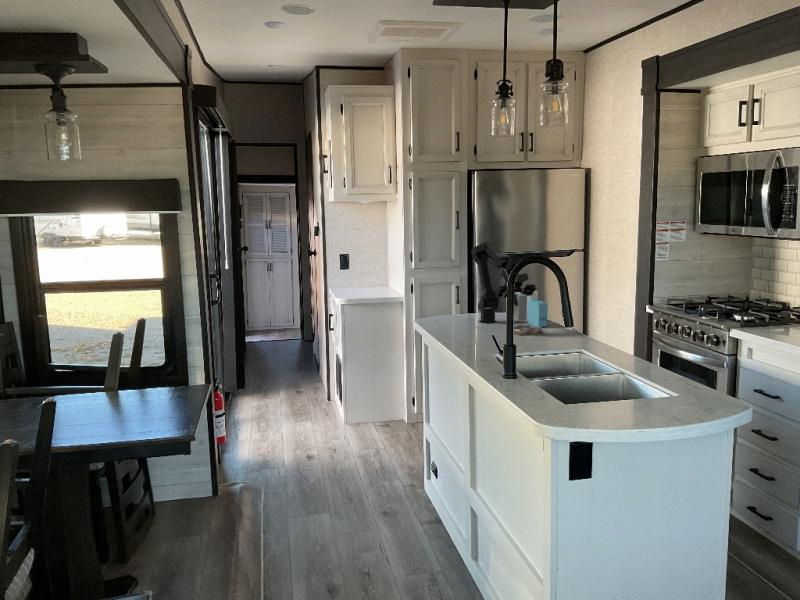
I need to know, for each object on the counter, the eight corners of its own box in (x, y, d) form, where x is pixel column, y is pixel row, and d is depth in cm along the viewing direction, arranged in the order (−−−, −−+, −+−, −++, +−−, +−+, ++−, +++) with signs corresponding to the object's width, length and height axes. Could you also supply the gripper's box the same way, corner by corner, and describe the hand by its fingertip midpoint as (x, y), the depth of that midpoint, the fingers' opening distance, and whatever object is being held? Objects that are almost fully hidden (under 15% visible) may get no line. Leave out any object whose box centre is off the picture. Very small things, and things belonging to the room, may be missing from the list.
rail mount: (519, 335, 300) (519, 329, 299) (506, 331, 308) (506, 325, 308) (542, 333, 306) (542, 327, 305) (529, 329, 314) (529, 323, 314)
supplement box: (530, 322, 332) (531, 292, 330) (514, 321, 337) (514, 291, 335) (537, 320, 340) (538, 290, 337) (520, 318, 344) (521, 289, 342)
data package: (547, 327, 320) (547, 302, 318) (538, 327, 318) (539, 303, 317) (535, 323, 331) (536, 299, 329) (527, 323, 330) (527, 299, 328)
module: (518, 320, 300) (519, 295, 298) (512, 318, 305) (513, 293, 303) (526, 320, 301) (527, 295, 300) (520, 318, 306) (521, 293, 304)
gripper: (498, 267, 300) (509, 295, 291) (535, 266, 306) (547, 293, 298) (490, 283, 309) (500, 310, 300) (525, 281, 315) (537, 308, 306)
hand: (521, 305), depth 301 cm, fingers closed on module, 4 cm apart
